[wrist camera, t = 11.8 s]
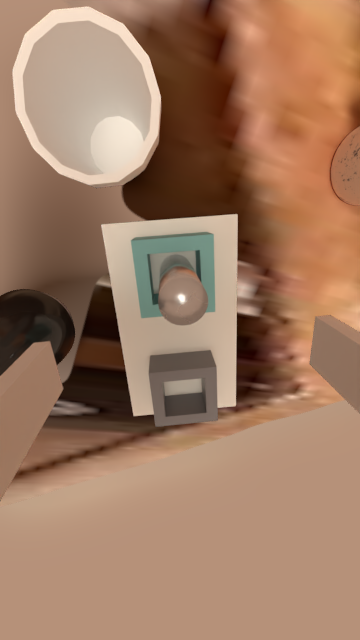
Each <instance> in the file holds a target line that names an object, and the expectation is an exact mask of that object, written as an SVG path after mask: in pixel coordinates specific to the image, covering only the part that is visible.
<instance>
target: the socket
mask: <svg viewBox="0 0 360 640" xmlns="http://www.w3.org/2000/svg"><path fill="white" fill-rule="evenodd" d="M131 246H132V253H133V261H134V268H135V276H136V283H137V291H138V298H139V306H140V313H141V318H150V317H162V314H161V312H160V310H159V306H158V295H159V294H154V290H153V280H152V271H151V262H150V254H157V253H169V252H182V251H194V250H195V254H196V274H197V276H198V278H199V280H200V281H201V283H202V285H203V287H204V288H205V290H206V292H207V295H208V307H207V310H206V312H205V313H207V312H215V270H214V234H212V233H209V232H197V233H184V234H171V235H158V236H145V237H135V238H133V239H132V240H131Z"/></svg>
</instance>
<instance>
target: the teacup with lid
mask: <svg viewBox="0 0 360 640" xmlns="http://www.w3.org/2000/svg"><path fill="white" fill-rule="evenodd" d="M331 182H332V186H333V189H334V191H335V193H336V194H337V196H338V197H339V198H340V199H341V200H343V201H344V202H346V203H348V204H351V205H357V206H360V126H359V127H358V128H356V129H355V130H353V131H352V132H351V133H350V134H349V135H348V136H347V137H346V138H345V139H344V140H343V141H342V143H341V144H340V146H339V147H338V149H337V151H336V153H335V155H334V158H333V162H332V166H331Z"/></svg>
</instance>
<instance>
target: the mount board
mask: <svg viewBox="0 0 360 640" xmlns="http://www.w3.org/2000/svg"><path fill="white" fill-rule="evenodd" d="M101 227H102V232H103V239H104V244H105V250H106V256H107V262H108V268H109V274H110V280H111V286H112V292H113V298H114V304H115V309H116V315H117V321H118V327H119V333H120V339H121V345H122V351H123V357H124V362H125V368H126V374H127V380H128V386H129V392H130V398H131V404H132V410H133V415H134V416H140V415H150V414H154V418H155V426H156V427H158V426H167V425H177V424H187V423H197V422H207V421H217V420H218V408H221V407H231V406H236V333H237V231H238V214H231V215H217V216H204V217H191V218H178V219H165V220H152V221H138V222H125V223H113V224H102V225H101ZM197 232H209V233H212V234H214V270H215V312H207V313H205V314H204V315H203V316H202V318H201V319H199V320H198V321H197V322H195V323H193V324H190V325H185V326H181V325H175V324H172V323H170V322H169V321H167V320H166V319H165V318H164V317H163V316H162V317H150V318H141V313H140V306H139V298H138V291H137V283H136V276H135V268H134V261H133V253H132V246H131V240H132V239H133V238H135V237H145V236H158V235H171V234H184V233H197ZM173 254H179V255H182V256H184V257H186V258H187V259H188V260H189V262H190V264H191V265H192V267H193V269H194V271H195V272H196V254H195V250H194V251H182V252H169V253H157V254H150V262H151V271H152V280H153V290H154V294H159V277H160V266H161V263H162V262H163V260H164V259H165V258H166V257H168V256H170V255H173Z"/></svg>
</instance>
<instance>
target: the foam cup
mask: <svg viewBox="0 0 360 640" xmlns="http://www.w3.org/2000/svg"><path fill="white" fill-rule="evenodd" d="M12 72H13V85H14V96H15V108H16V114H17V116H18V118H19V120H20V122H21V124H22V126H23V128H24V130H25V132H26V135H27V137H28V139H29V141H30V143H31V145H32V147H33V149H34V150H35V151H36V152H37V153H38V154H39V155H41V157H43V158H44V159H45V160H46V161H47V162H48V163H49V164H50V165H51V166H52V167H53V168H54V169H55V170H56V171H57V172H58V173H59V174H62V175H64V176H66V177H69V178H71V179H74V180H77V181H79V182H82V183H85V184H87V185H90V186H92V187H95V188H102V187H112V186H121V185H124V184H125V183H127V182H128V181H131V180H132V179H134V178H135V177H136V176H138V175H139V174H141V172H142V171H144V170H145V168H146V166H147V164H148V163H149V161H150V159H151V157H152V155H153V153H154V151H155V149H156V147H157V145H158V143H159V131H160V118H161V96H160V92H159V89H158V85H157V82H156V79H155V75H154V72H153V68H152V65H151V62H150V58H149V56H148V55H147V54H146V52H145V51H144V50H143V49H142V47H141V46H140V45H139V43H138V42H137V41H136V40H135V38H134V37H133V36H132V34H131V33H130V32H129V31H128V29H127V28H126V27H125V25H124V24H122V23H120V22H118V21H116V20H114V19H112V18H110V17H108V16H106V15H104V14H102V13H100V12H98V11H96V10H94V9H92V8H90V7H79V8H69V9H58V10H52V11H51V12H50V13H49V14H47V15H46V16H45V17H44V18H43V19H42V20H41V21H39V22H38V23H37V24H36V25H35V26H34V27H32V28H31V29H30V30H29V31H28V32H27V33H26V34H25V36H24V39H23V41H22V44H21V48H20V50H19V53H18V56H17V59H16V62H15V65H14V68H13V71H12Z"/></svg>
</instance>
